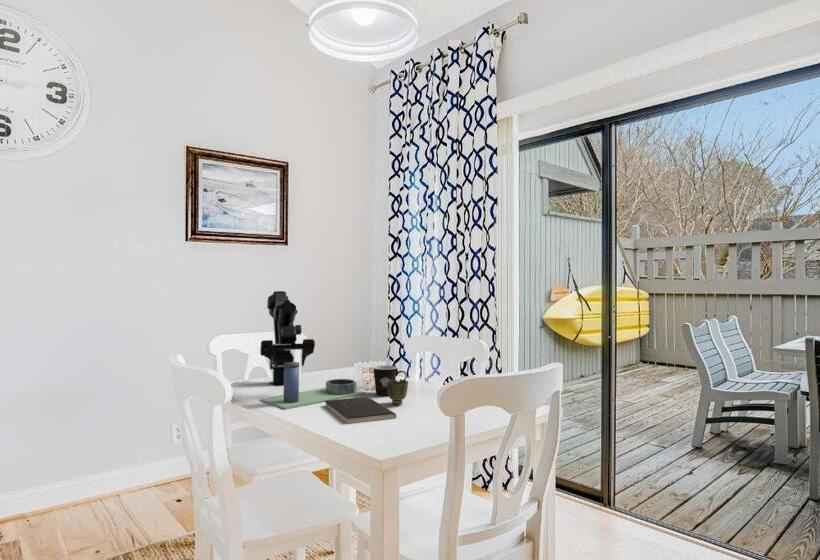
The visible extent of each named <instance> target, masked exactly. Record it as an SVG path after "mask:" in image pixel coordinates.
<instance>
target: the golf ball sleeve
mask: <svg viewBox="0 0 820 560" xmlns="http://www.w3.org/2000/svg"><path fill="white" fill-rule="evenodd" d="M299 387H300V362H299V361H293V362H286V363H284V385H283V395H284V402H285V403H296V402H298V401H299V392H300V388H299Z"/></svg>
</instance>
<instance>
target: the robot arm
mask: <svg viewBox="0 0 820 560" xmlns="http://www.w3.org/2000/svg"><path fill="white" fill-rule="evenodd" d="M266 305H267V306H266V309H267V310H268V313H269V316H270V317H272V318H273V319H272V320H273V334H274V335H273V336H274V341H273V339H271V340H270V339H269V340H261V342H260V350H259V351H260V353H259V355H260V356H262V357H264V358H267V359H268V360H269V369H270V370H272V381H269V384H271V385H274V386H284V363H286V362H295V361H294V359H295V356H294V355H293V353H292V352H291V351H297V350H301V367H304V365H305V362H306V358H307V357H308V356H310V355H312V354H314V351H315V346H316V341H315V340H314V339H313V338H307V339H305V338H303V339H302V343H296V342H297V340H298V339H297V336H299V335H300V336H301V335H302V325H301V324H295V325H294V321H295V319H296V315H297V314H298V310H297V306H296V305H295V303H293V302H291V300H290V299H289V296H288V295H287V292H286V291H284V290H282V291H281V290H280V291H279V290H278V291H277V290H275V291H273V293H272V294H271V295H269V296H268V297H267V303H266Z"/></svg>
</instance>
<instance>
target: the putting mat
mask: <svg viewBox="0 0 820 560" xmlns="http://www.w3.org/2000/svg"><path fill="white" fill-rule="evenodd" d="M366 393H367V392H366V391H363V390H359V389H356V392H355V393H352V394H346V395H334V394H329V393H327V392H326V387H322V388H316V389H315V388H314V389H311V390H310V389H309V390H305V391H299V401H298V402H296V403H285V402H284V394H279V395H276V396H269V397H265V398H259V401H260V402H262V403H266V404H268V405H272V406H274V407H277V408H280V409H283V410H290V409H295V408H301V407H303V406H304V407H305V406H310V405H315V404H320V403H325V402H324V401H327V400H338V399H348V398H351V397H352V398H353V397H357V396H361V395H365V394H366Z"/></svg>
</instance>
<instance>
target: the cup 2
mask: <svg viewBox="0 0 820 560" xmlns="http://www.w3.org/2000/svg"><path fill="white" fill-rule="evenodd" d="M408 387H409V381H408V380H407V379H405V378H404V379H402V378H401V379H399V380H398V381H397V379H396V378H395V380H393V379H391V381H390V380H389V381H388V380H387V391H388V397H389V399H390V400H391V404H392V405H394V406H395V405H396V406H399V405H402V404H403V402H404V401H403V400H404V399H406V397H407V393H408Z"/></svg>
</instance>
